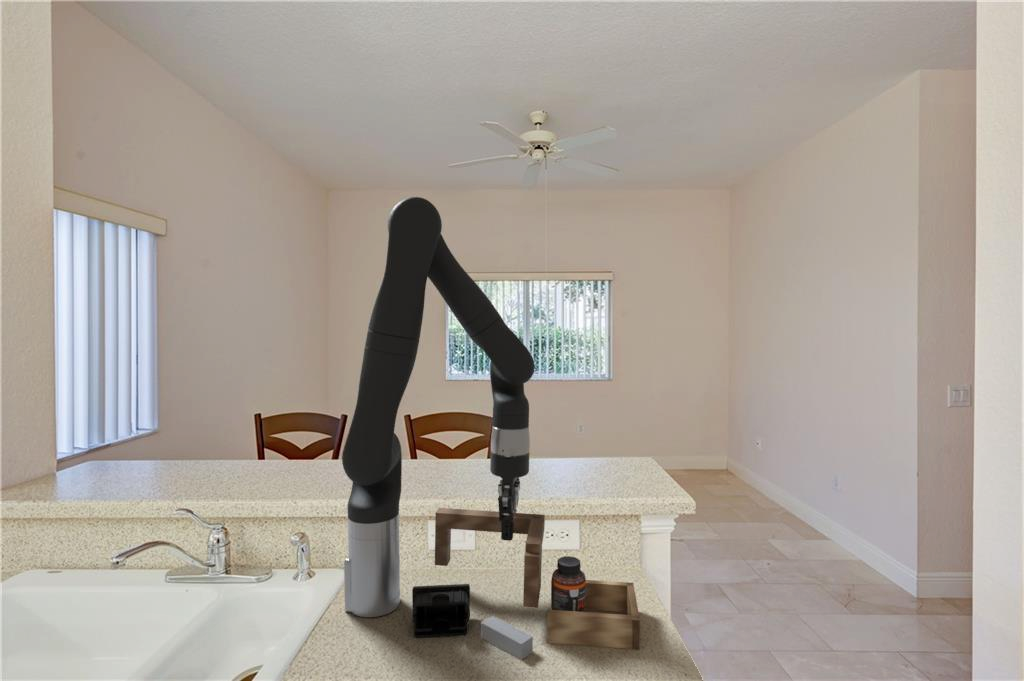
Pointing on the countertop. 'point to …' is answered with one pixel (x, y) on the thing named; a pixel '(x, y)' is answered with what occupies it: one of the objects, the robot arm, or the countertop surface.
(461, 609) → the black box
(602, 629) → the light wood frame
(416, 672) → the countertop surface
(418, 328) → the robot arm
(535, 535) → the walnut crook
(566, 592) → the supplement bottle
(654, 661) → the countertop surface
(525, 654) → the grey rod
